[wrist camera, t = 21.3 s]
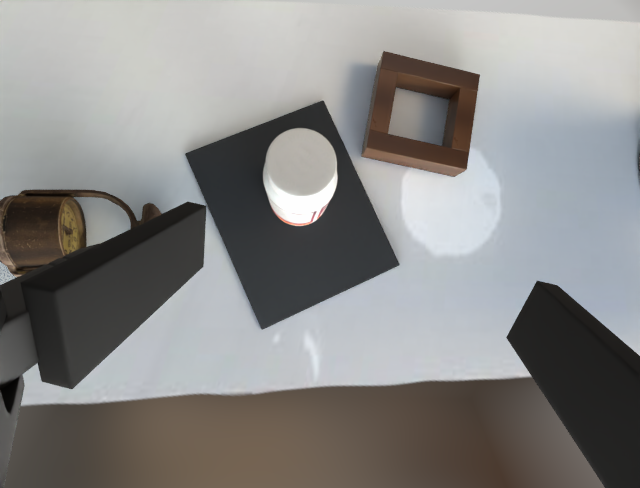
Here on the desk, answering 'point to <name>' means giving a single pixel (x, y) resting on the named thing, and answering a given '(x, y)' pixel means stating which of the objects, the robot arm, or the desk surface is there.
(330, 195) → the pill bottle
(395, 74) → the holder
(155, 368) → the desk surface
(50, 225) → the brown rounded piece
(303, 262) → the desk mat
